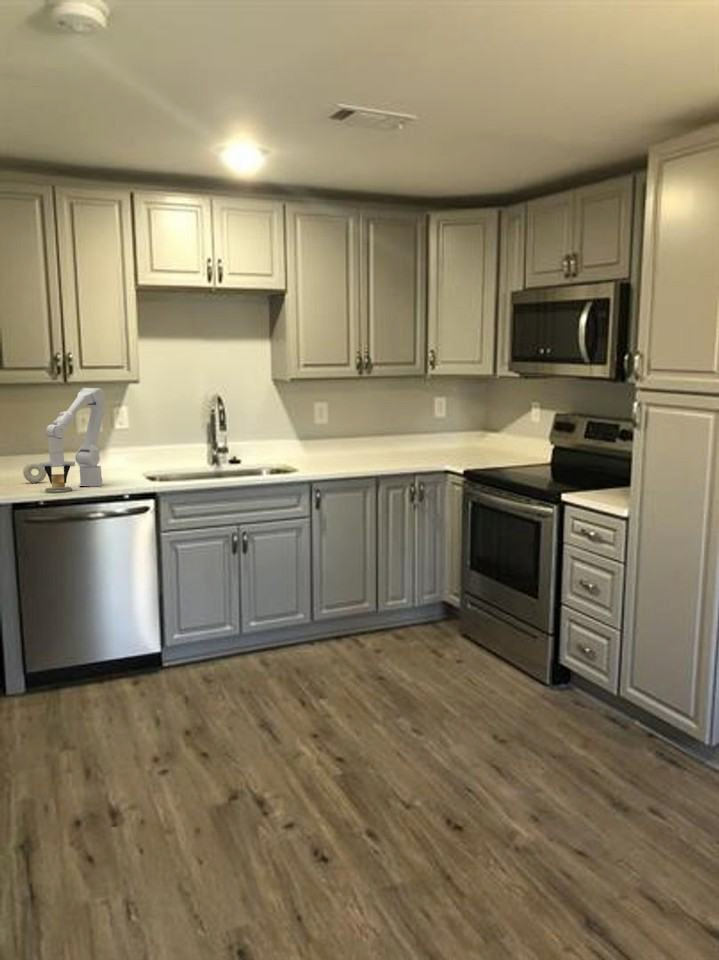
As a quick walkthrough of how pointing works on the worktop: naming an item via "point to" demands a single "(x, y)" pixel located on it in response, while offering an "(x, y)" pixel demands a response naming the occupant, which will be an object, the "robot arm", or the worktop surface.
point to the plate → (58, 489)
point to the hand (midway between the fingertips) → (58, 483)
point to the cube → (57, 480)
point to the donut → (29, 476)
